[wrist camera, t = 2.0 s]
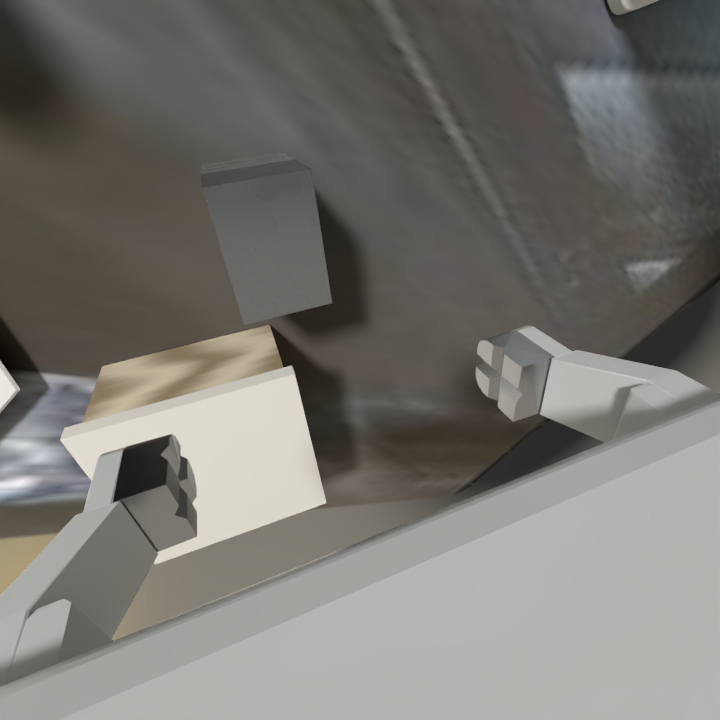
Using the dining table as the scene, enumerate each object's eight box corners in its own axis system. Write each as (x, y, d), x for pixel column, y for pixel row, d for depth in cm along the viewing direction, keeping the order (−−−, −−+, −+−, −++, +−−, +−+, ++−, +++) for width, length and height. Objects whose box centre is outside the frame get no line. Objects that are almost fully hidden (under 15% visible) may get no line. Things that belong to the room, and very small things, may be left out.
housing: (282, 152, 25) (311, 169, 19) (302, 258, 29) (332, 303, 23) (200, 164, 24) (201, 187, 17) (233, 273, 28) (244, 324, 21)
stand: (274, 317, 30) (294, 374, 24) (304, 435, 38) (326, 502, 32) (91, 362, 28) (60, 439, 21) (162, 480, 35) (155, 564, 29)
